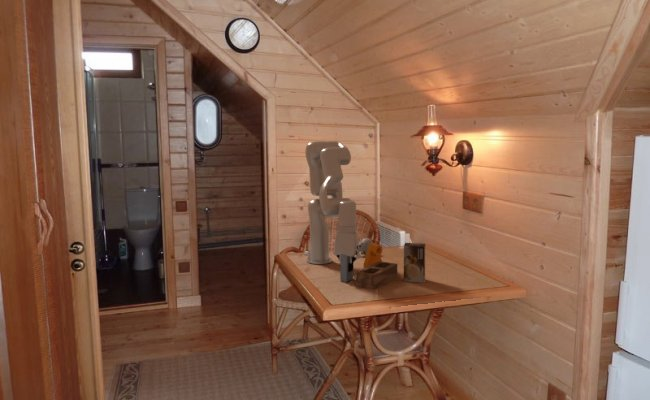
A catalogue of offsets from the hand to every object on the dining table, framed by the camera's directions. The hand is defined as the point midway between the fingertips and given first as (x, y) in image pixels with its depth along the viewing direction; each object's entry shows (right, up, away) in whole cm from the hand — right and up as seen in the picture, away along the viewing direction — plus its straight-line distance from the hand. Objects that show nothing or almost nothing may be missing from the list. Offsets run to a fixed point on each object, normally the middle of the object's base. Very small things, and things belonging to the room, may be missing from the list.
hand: (346, 270), depth 220 cm
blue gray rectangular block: (0, -4, +1) cm, 4 cm away
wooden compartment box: (+13, -5, -1) cm, 14 cm away
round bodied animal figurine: (+11, +1, +48) cm, 49 cm away
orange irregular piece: (+15, -2, +19) cm, 24 cm away
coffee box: (+30, -5, 0) cm, 30 cm away
